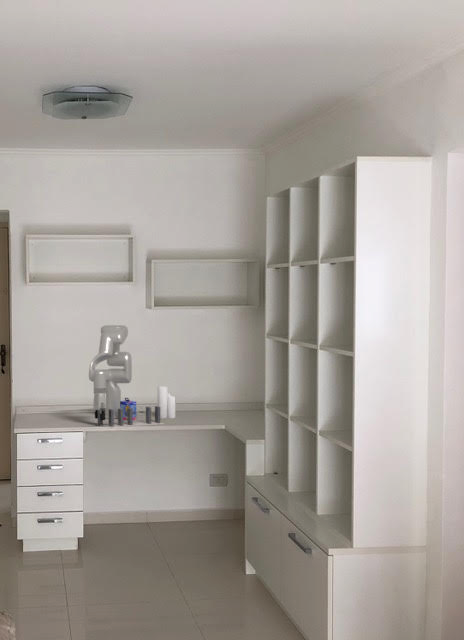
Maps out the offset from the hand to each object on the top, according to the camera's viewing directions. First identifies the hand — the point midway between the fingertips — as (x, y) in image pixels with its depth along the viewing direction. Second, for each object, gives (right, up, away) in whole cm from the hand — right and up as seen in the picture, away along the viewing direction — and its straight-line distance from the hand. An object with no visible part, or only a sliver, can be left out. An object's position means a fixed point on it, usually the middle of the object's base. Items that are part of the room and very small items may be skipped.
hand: (100, 419), depth 574 cm
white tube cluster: (+38, -3, +35) cm, 51 cm away
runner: (+21, -4, +4) cm, 21 cm away
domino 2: (+7, -4, -3) cm, 9 cm away
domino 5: (+29, -3, +8) cm, 30 cm away
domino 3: (+13, -4, 0) cm, 13 cm away
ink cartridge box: (+15, -3, +23) cm, 28 cm away
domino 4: (+18, -4, +3) cm, 19 cm away
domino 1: (0, -4, +1) cm, 4 cm away
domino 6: (+34, -3, +10) cm, 36 cm away
